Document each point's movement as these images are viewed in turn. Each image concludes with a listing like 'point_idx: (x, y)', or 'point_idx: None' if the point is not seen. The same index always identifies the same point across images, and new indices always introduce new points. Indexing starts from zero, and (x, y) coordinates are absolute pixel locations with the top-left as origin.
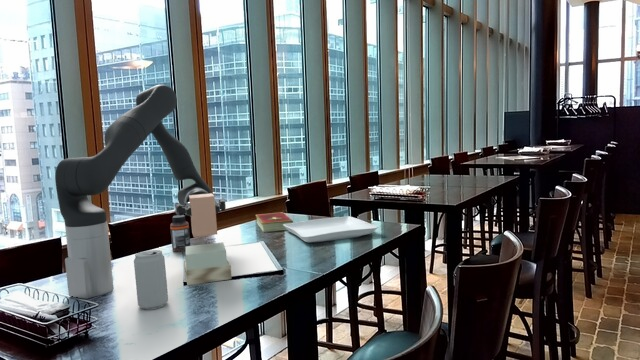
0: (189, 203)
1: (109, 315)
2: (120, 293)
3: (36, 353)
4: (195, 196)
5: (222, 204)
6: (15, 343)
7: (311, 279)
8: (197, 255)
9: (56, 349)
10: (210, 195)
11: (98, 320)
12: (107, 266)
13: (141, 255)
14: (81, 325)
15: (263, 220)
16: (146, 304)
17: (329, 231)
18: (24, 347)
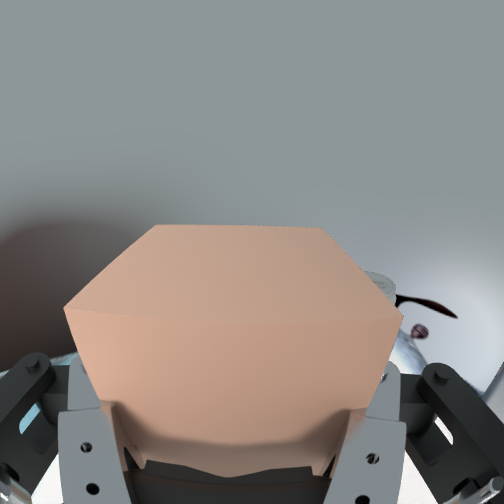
0: (378, 416)
1: (399, 348)
2: (440, 428)
3: (411, 297)
4: (293, 251)
5: (54, 371)
6: (447, 312)
7: (66, 357)
8: None
9: (400, 299)
10: (161, 240)
11: (404, 339)
12: (493, 394)
13: (377, 277)
14: (415, 331)
15: None
16: None
17: None
18: (432, 306)
